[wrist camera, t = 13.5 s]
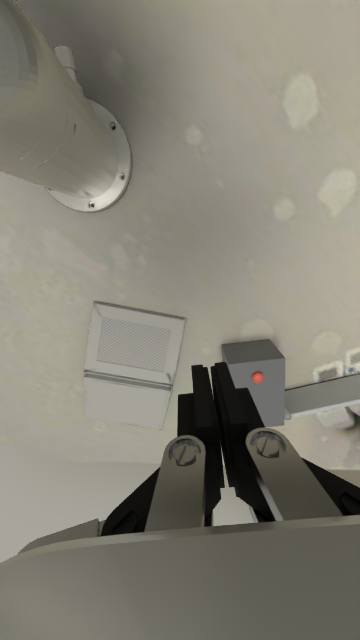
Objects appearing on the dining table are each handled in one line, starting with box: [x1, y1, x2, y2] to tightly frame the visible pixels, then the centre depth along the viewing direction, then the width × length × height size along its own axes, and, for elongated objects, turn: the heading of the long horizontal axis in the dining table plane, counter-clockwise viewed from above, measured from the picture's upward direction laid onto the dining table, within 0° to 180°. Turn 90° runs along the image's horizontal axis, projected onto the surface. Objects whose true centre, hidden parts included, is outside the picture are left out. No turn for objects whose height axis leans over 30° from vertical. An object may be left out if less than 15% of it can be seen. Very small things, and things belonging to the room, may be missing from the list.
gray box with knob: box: [222, 339, 285, 427], centre depth 39 cm, size 14×8×7 cm, turn 7°
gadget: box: [84, 301, 186, 430], centre depth 41 cm, size 23×15×4 cm, turn 169°
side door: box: [284, 374, 360, 420], centre depth 40 cm, size 20×2×6 cm, turn 106°
